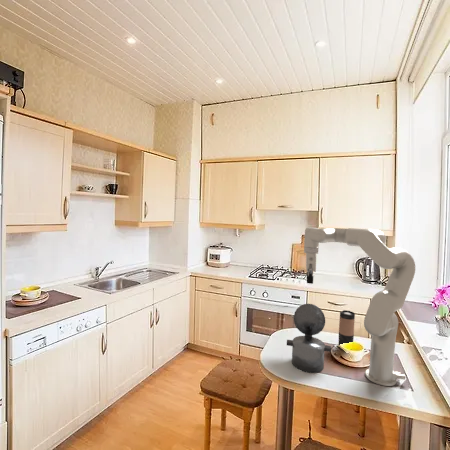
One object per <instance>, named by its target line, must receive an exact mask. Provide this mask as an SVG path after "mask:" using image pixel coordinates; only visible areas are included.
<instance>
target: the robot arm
mask: <svg viewBox="0 0 450 450" xmlns="http://www.w3.org/2000/svg"><path fill="white" fill-rule="evenodd" d="M303 241H304V244H303V253H304V254H305V270H306V284H311V285H312V284H314V273H316V269H317V255H318V254H319V246H320V245H319V243H321V244H325V243H326V244H327V243H340V244H342V243H343V244H347V245H348V246H349V247H359V248H361V250H362V251H363V252H364V253H365V254H366V255H367V256H368V257H369V258H370V259H371V260H372V261H373V262H374V263H375V264H376V265H377V266H378V267H380V268H382V269H384V270H391V269H392V272H390V275H389V276H388V279H387V281H386V284H385V287H384V288H383V289H382V290H381V291H378V292H376V293H375V294H374V295H373V296H372V298H371V300H370V303H369V304H368V308H367V310H366V314H365V316H364V319H363V326H364V330H365V332H367V333H368V335H371V338H370V341H371V342H370V353H369V368H368V369H366V370H365V374H364V375H365V377H366V378H367V379H368V380H369V381H371V382H372V383H374V384H377V385H379V386H382V387H392V386H395V385H396V384H397V380H398V379H399V380H403V381H405V380H406V374H401V372H400V371H395V370H394V365H395V350H396V340H397V333H398V328H399V319H398V316H397V315H396V313H395V312H398V311H399V310H401V309H402V308H403V306H404V304H405V302H406V298H407V296H408V293H409V290H410V289H411V285H412V282H413V280H414V277H415V273H416V262H415V259H414V258H413V256H412V255H411V254H410V252H409V251H407V250H406V249H403V248H401V247H389V246H387V245H386V244H385V242H386V235H385V233H384V232H383V231H381V230H379V229H375V228H352V227H351V228H340V227H339V228H338V227H337V228H336V227H325V228H324V227H323V228H317V227H306V228H305V230H304V240H303Z"/></svg>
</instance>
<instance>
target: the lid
mask: <svg viewBox="0 0 450 450" xmlns="http://www.w3.org/2000/svg"><path fill="white" fill-rule="evenodd" d="M293 323H294V325H295V328H296V329H297V330H298V331H299V332H300V333H301V334H303V335H304V336H310V337H313V336H316V335H318V334H320V333H321V332H322V331H323V330H324V328H325V325H326V317H325V314H324V311H323V310H322V309H321V308H320V307H319V306H318V305H316V304H313V303H304V304H301V305H300V306H298V307H297V308H296V310H295V311H294V313H293Z"/></svg>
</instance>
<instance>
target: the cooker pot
mask: <svg viewBox="0 0 450 450" xmlns="http://www.w3.org/2000/svg"><path fill="white" fill-rule="evenodd" d="M286 346H290V347H292V349H291V350H292V353H291V365H292V366H293V368H295V369H296V370H298V371H300V372H303V373H306V374H307V373H308V374H317V373H321V372H322V371H324V366H325V365H324V364H325V352H329V353H331V352H332V347H331V345H326V344H325V342H324V341H322V340H321V339H319V338H317V337H314V336H312V337H310V336H305V335H298V336H295V337H293V339H286Z"/></svg>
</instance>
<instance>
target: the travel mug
mask: <svg viewBox="0 0 450 450" xmlns="http://www.w3.org/2000/svg"><path fill="white" fill-rule="evenodd" d="M355 320H356V313H355V312H353V311H351V310H345V309H343V310H342V311H339V324H338V325H339V327H338V343H337V345H340V344H343V343H349V342H353V343H354V336H355Z"/></svg>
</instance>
